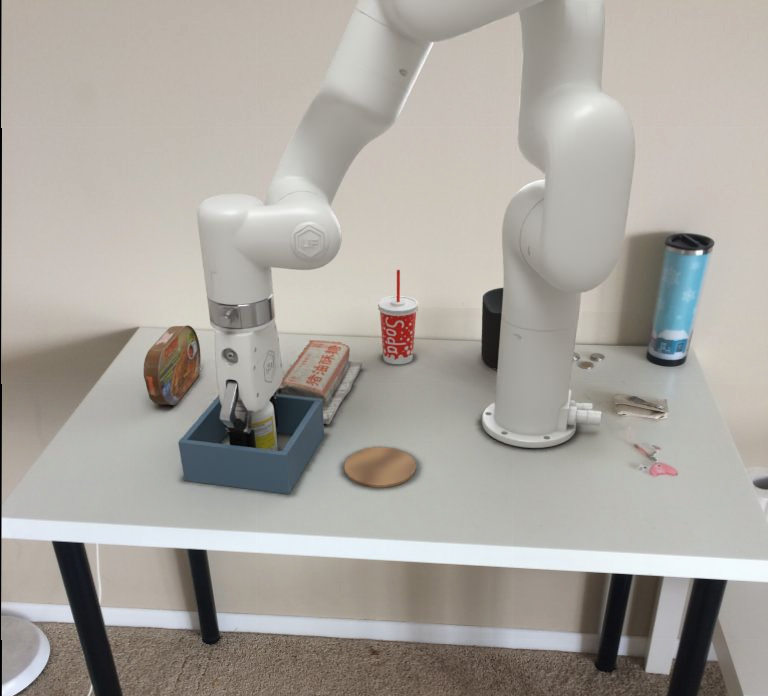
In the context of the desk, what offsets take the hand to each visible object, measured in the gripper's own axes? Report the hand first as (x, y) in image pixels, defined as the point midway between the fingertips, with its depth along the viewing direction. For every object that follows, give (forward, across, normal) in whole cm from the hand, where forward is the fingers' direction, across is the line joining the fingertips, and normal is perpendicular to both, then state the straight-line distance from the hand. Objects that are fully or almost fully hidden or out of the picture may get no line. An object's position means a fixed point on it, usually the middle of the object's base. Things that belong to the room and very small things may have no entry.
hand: (255, 441), depth 110 cm
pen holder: (+2, +36, -28) cm, 46 cm away
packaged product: (+2, +19, -2) cm, 19 cm away
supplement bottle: (+2, 0, 0) cm, 2 cm away
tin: (+3, +15, +18) cm, 24 cm away
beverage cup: (+2, +33, -11) cm, 35 cm away
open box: (+2, 0, 0) cm, 2 cm away
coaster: (+2, +1, -16) cm, 16 cm away
